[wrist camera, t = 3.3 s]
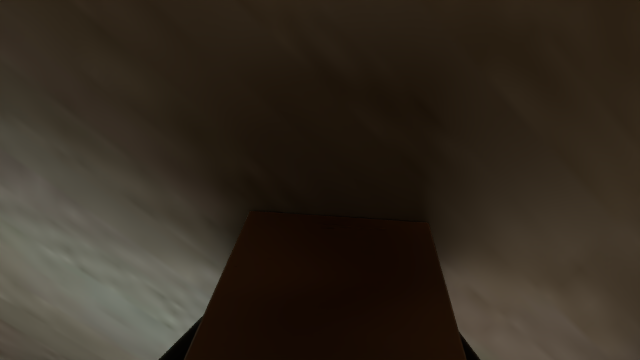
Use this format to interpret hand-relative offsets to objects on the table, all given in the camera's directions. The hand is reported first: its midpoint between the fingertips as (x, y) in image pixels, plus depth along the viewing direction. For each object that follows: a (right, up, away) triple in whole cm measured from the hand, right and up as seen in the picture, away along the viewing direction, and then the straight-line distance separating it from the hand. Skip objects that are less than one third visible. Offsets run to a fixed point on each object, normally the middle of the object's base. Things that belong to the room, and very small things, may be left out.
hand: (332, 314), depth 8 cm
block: (0, 0, +1) cm, 1 cm away
